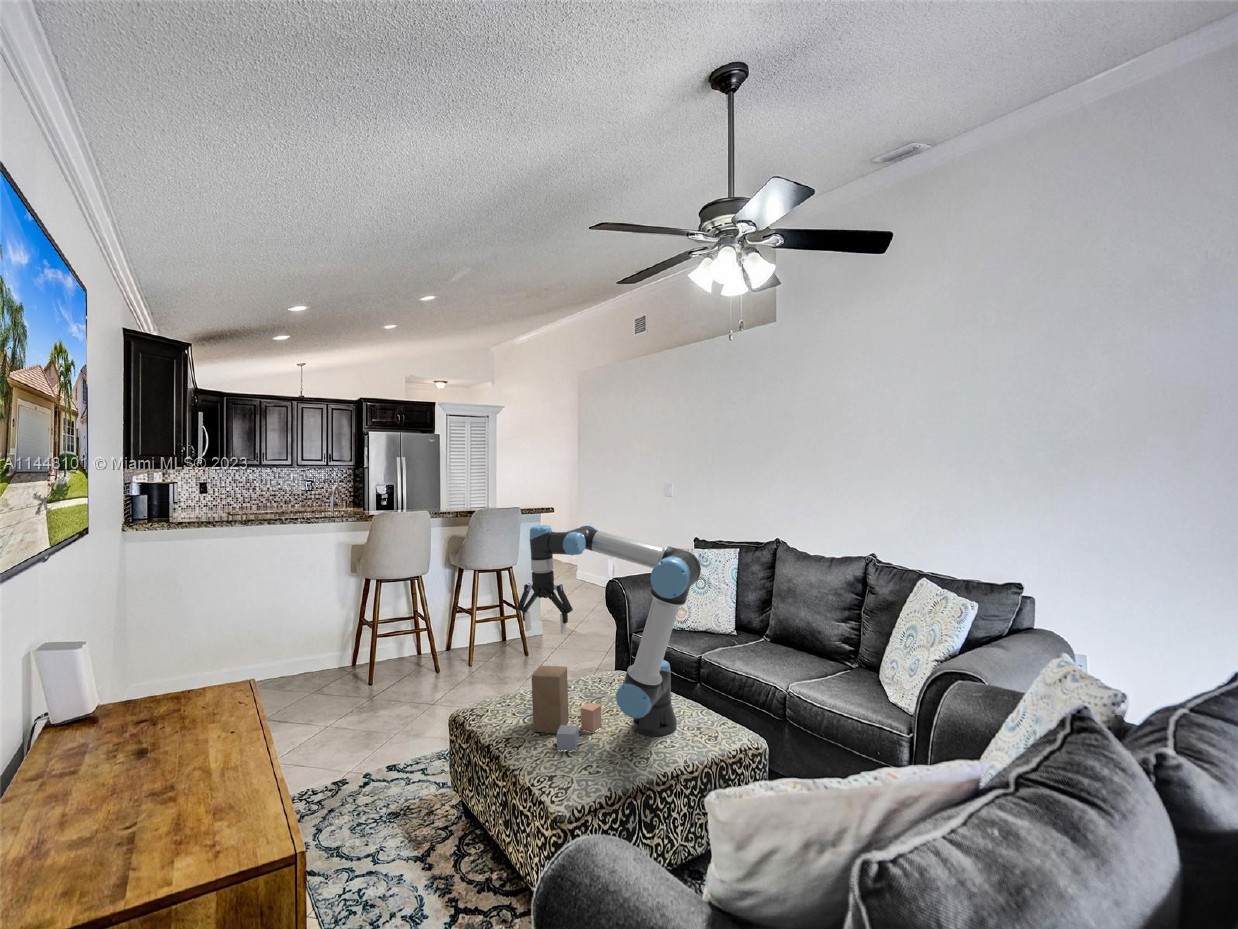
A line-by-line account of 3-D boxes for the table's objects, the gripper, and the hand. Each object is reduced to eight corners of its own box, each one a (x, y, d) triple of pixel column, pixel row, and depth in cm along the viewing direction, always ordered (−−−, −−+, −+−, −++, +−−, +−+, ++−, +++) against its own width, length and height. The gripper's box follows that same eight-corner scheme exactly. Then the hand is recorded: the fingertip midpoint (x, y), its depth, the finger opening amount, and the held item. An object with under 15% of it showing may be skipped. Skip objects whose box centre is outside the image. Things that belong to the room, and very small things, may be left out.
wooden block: (561, 735, 215) (559, 677, 214) (533, 733, 217) (530, 675, 216) (569, 721, 225) (567, 666, 224) (542, 720, 227) (540, 665, 226)
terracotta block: (601, 728, 219) (600, 705, 219) (593, 734, 215) (592, 711, 215) (589, 725, 222) (588, 702, 221) (581, 730, 218) (580, 708, 217)
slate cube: (578, 743, 209) (578, 725, 208) (575, 752, 203) (574, 734, 203) (561, 743, 209) (560, 725, 209) (557, 752, 204) (556, 733, 203)
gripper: (580, 569, 218) (583, 630, 219) (515, 567, 226) (519, 626, 227) (571, 573, 211) (574, 636, 212) (505, 572, 219) (508, 632, 220)
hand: (545, 631), depth 219 cm, fingers open, 13 cm apart
